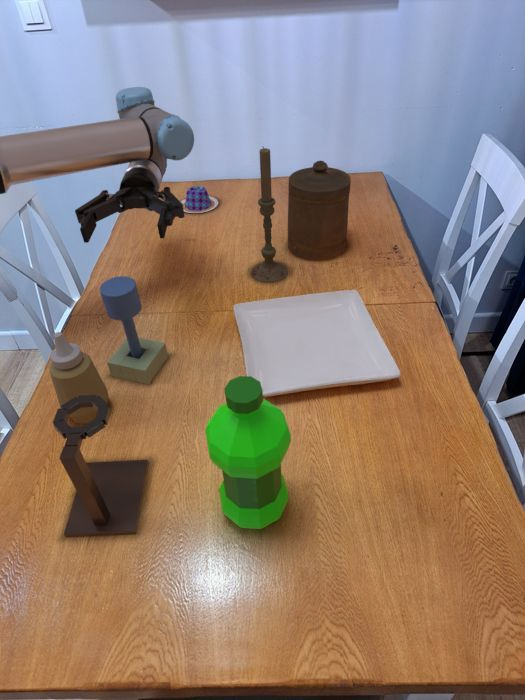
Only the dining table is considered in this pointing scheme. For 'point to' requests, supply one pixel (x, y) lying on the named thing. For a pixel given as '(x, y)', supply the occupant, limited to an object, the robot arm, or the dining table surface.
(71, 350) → the squeeze bottle
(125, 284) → the peg
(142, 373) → the socket block
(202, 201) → the pudding
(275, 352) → the square plate
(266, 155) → the candlestick holder
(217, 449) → the plastic bottle
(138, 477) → the peg stand
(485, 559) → the dining table surface
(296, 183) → the wooden container
